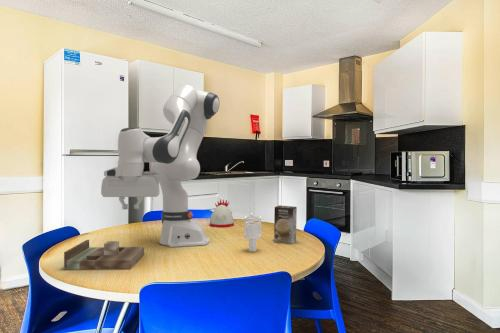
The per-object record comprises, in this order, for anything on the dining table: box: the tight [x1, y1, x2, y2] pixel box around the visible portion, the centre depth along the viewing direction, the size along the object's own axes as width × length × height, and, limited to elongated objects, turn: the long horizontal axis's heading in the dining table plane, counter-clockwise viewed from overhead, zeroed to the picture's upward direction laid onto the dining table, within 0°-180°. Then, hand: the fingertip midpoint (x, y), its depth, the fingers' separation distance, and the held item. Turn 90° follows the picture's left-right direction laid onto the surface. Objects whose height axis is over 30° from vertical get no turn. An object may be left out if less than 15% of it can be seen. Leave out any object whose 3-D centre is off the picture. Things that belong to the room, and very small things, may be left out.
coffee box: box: [273, 205, 298, 245], centre depth 156 cm, size 9×6×16 cm
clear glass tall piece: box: [243, 212, 262, 252], centre depth 140 cm, size 7×7×15 cm
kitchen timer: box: [209, 199, 235, 229], centre depth 195 cm, size 14×14×15 cm
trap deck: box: [63, 239, 145, 271], centre depth 124 cm, size 22×18×6 cm
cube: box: [103, 240, 120, 255], centre depth 124 cm, size 4×4×4 cm
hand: (130, 209), depth 124 cm, fingers open, 3 cm apart
